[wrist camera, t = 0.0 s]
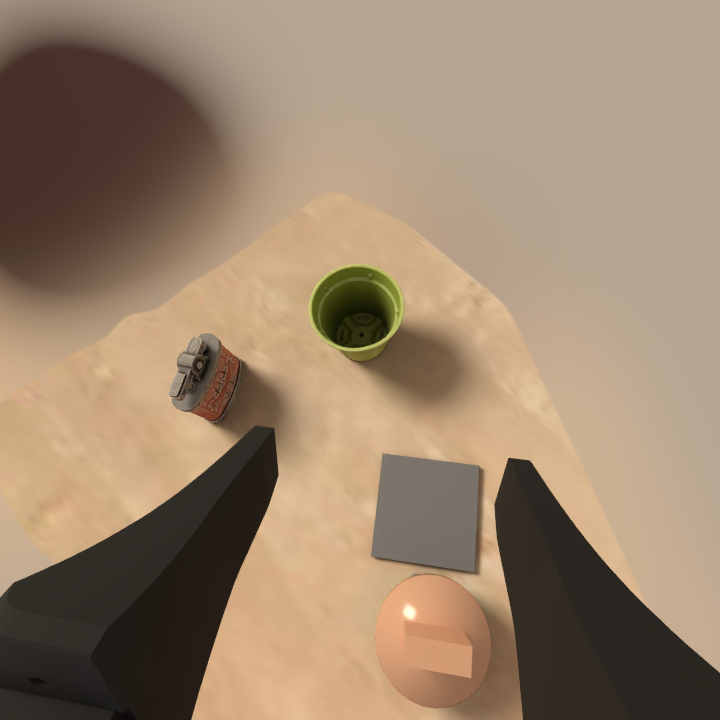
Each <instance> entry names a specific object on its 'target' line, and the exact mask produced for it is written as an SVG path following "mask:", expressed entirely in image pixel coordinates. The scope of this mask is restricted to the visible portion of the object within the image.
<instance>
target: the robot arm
mask: <svg viewBox="0 0 720 720" xmlns="http://www.w3.org/2000/svg"><path fill="white" fill-rule="evenodd" d="M278 475H279V474H278V464H277V453H276V443H275V432H274V428H268V427H260V426H255V427H254V428H252V429H251V430H250V431H249V432H248V433H247V434H246V435H245V436H244V437H243V438H242V439H240V440H239V441H238V442H237V443H236V444H235V445H234V446H233V447H232V448H231V449H230V450H229V451H227V452H226V453H225V454H224V455H223V456H222V457H221V458H220V459H218V460H217V461H216V462H215V463H214V464H213V465H212V466H210V467H209V468H208V469H207V470H206V471H205V472H203V473H202V474H201V475H200V476H199V477H197V478H196V479H195V480H193V481H192V482H191V483H190V484H188V485H187V486H186V487H185V488H183V489H182V490H181V491H180V492H178V493H177V494H176V495H174V496H173V497H172V498H170V499H169V500H167V501H166V502H165V503H163V504H162V505H160V506H159V507H157V508H156V509H154V510H153V511H151V512H150V513H148V514H147V515H145V516H144V517H142V518H141V519H139V520H137V521H136V522H134V523H132V524H131V525H129V526H127V527H126V528H124V529H122V530H121V531H119V532H117V533H116V534H114V535H112V536H110V537H109V538H107V539H105V540H103V541H101V542H99V543H97V544H96V545H94V546H92V547H90V548H88V549H86V550H84V551H82V552H80V553H78V554H76V555H74V556H72V557H70V558H68V559H66V560H64V561H62V562H60V563H57V564H55V565H53V566H51V567H48V568H46V569H44V570H42V571H40V572H37V573H35V574H33V575H31V576H28V577H26V578H24V579H22V580H19V581H17V582H14V583H13V584H12V585H11V586H10V588H8V590H7V591H6V592H5V593H4V594H3V595H2V596H1V597H0V720H191V718H192V715H193V711H194V708H195V704H196V701H197V697H198V693H199V690H200V687H201V684H202V680H203V677H204V674H205V670H206V667H207V664H208V661H209V657H210V654H211V651H212V648H213V645H214V642H215V639H216V636H217V632H218V629H219V626H220V623H221V620H222V617H223V614H224V611H225V608H226V606H227V603H228V600H229V597H230V594H231V591H232V588H233V585H234V583H235V580H236V578H237V575H238V573H239V570H240V568H241V566H242V564H243V562H244V559H245V557H246V555H247V553H248V551H249V548H250V546H251V544H252V542H253V540H254V537H255V535H256V533H257V531H258V529H259V526H260V524H261V522H262V520H263V517H264V515H265V513H266V511H267V508H268V506H269V503H270V500H271V497H272V494H273V491H274V488H275V485H276V481H277V478H278ZM494 505H495V520H496V532H497V541H498V546H499V551H500V556H501V562H502V567H503V572H504V577H505V582H506V587H507V592H508V597H509V602H510V607H511V612H512V617H513V624H514V630H515V638H516V648H517V657H518V667H519V678H520V689H521V700H522V712H523V720H720V673H719V672H718V671H717V670H716V669H715V668H713V667H712V666H711V665H710V664H709V663H708V662H706V661H705V660H704V659H703V658H702V657H701V656H700V655H698V654H697V653H696V652H695V651H693V649H691V648H690V647H689V646H688V645H686V643H684V642H683V641H682V640H681V639H680V638H679V637H678V636H677V635H676V634H675V633H674V632H672V631H671V630H670V629H669V628H668V627H667V626H666V625H665V624H664V623H663V622H662V621H661V620H660V619H659V618H658V617H657V616H656V615H655V614H654V613H653V612H652V611H650V610H649V609H648V608H647V607H646V606H645V605H644V604H643V603H642V602H641V601H640V600H639V599H638V598H637V597H636V596H635V595H634V594H633V593H632V592H631V591H630V590H629V588H628V587H627V586H626V585H625V584H624V583H623V582H622V581H621V580H620V579H619V578H618V577H617V575H616V574H615V573H614V572H613V571H612V570H611V569H610V568H609V567H608V565H607V564H606V563H605V562H604V561H603V560H602V558H601V557H600V556H599V555H598V554H597V552H596V551H595V550H594V549H593V548H592V546H591V545H590V544H589V543H588V541H587V540H586V539H585V538H584V536H583V535H582V534H581V532H580V531H579V530H578V529H577V527H576V526H575V525H574V523H573V522H572V520H571V519H570V518H569V516H568V515H567V514H566V512H565V511H564V510H563V508H562V507H561V505H560V504H559V503H558V501H557V500H556V498H555V497H554V495H553V494H552V492H551V491H550V490H549V488H548V487H547V485H546V484H545V482H544V481H543V479H542V478H541V476H540V475H539V473H538V472H537V470H536V469H535V467H534V466H533V464H532V463H531V461H529V460H521V459H513V458H508V461H507V465H506V468H505V471H504V475H503V478H502V481H501V485H500V488H499V491H498V494H497V498H496V501H495V504H494Z"/></svg>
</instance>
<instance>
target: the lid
mask: <svg viewBox="0 0 720 720" xmlns="http://www.w3.org/2000/svg"><path fill="white" fill-rule="evenodd" d="M375 639H376V649H377V655H378V658H379V661H380V664H381V667H382V669H383V671H384V673H385V675H386V677H387V678H388V680H389V681H390V683H391V684H392V685H393V686H394V688H395V689H396V690H397V691H398V692H399V693H401V694H402V695H403V696H404V697H405V698H407V699H409V700H410V701H412V702H414V703H416V704H419V705H421V706H425V707H430V708H445V707H450V706H453V705H456V704H459V703H460V702H462V701H464V700H466V699H467V698H468V697H469V696H471V695H472V694H473V693H474V692H475V691H476V689H477V688H478V687H479V685H480V684H481V682H482V681H483V679H484V677H485V675H486V672H487V669H488V666H489V662H490V656H491V637H490V631H489V627H488V623H487V620H486V618H485V615H484V613H483V611H482V609H481V607H480V606H479V604H478V603H477V601H476V600H475V599H474V598H473V596H472V595H471V594H470V593H469V592H468V591H467V590H466V589H465V588H464V587H463V586H461V585H460V584H459V583H457V582H455V581H454V580H452V579H450V578H447V577H445V576H441V575H437V574H420V575H415V576H412V577H410V578H407V579H406V580H404V581H402V582H401V583H399V584H398V585H397V586H395V587H394V588H393V589H392V590H391V592H390V593H389V594H388V595H387V597H386V599H385V600H384V602H383V604H382V606H381V609H380V611H379V615H378V618H377V624H376V635H375Z"/></svg>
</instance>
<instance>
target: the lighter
mask: <svg viewBox="0 0 720 720" xmlns="http://www.w3.org/2000/svg"><path fill="white" fill-rule="evenodd" d="M177 365H178V370H177V373H176V375H175V378H174V380H173V383H172V385H171V387H170V390H169V393H168V395H169V397H171V398H172V403H173V405H174V406H175V407H176V408H177V409H179V410H182V411H184V412H191V413H194V414H196V415H198V416H201V417H203V418H204V419H205V420H206V421H208V422H211V423H220V422H222V421H223V420H224V419H225V418H226V416H227V414H228V412H229V411H230V409H231V407H232V405H233V403H234V401H235V398H236V396H237V394H238V391H239V387H240V384H241V380H242V374H243V368H244V364H243V362H242V360H241V359H240V358H238V357H237V356H235V355H233V354H232V353H231V352H229V351H228V350H227V349H226V348H225V347H224V346H223V345H222V344H221V342H220V340H219V339H218V338H217V337H216V336H214V335H212V334H202V335H200V336H198V337H192V338H191V339H190V341H189V343H188V346H187V348H186V351H184V352H183V353H180V355H179V357H178V359H177Z"/></svg>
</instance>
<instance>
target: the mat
mask: <svg viewBox="0 0 720 720" xmlns="http://www.w3.org/2000/svg"><path fill="white" fill-rule="evenodd" d="M478 484H479V466H476V465H468V464H460V463H452V462H445V461H437V460H429V459H421V458H413V457H406V456H398V455H390V454H383V457H382V466H381V475H380V483H379V492H378V501H377V510H376V519H375V527H374V536H373V545H372V554H371V556H372V557H379V558H385V559H392V560H398V561H405V562H411V563H418V564H424V565H430V566H437V567H443V568H450V569H456V570H463V571H469V572H475V551H476V528H477V506H478Z"/></svg>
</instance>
